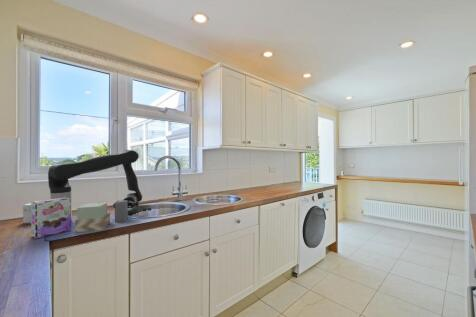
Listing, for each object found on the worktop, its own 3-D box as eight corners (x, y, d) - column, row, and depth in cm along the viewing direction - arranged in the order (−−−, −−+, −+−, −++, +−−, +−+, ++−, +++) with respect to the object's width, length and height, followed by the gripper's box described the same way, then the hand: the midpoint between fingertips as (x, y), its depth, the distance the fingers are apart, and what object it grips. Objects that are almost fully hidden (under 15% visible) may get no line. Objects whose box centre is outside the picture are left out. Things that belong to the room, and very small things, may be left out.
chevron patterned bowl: (75, 232, 108) (75, 220, 108) (85, 225, 120) (85, 214, 120) (102, 230, 111) (102, 218, 111) (110, 223, 123) (110, 212, 122)
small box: (45, 220, 128) (45, 202, 128) (35, 223, 123) (35, 204, 123) (33, 220, 129) (32, 202, 129) (22, 223, 124) (22, 204, 124)
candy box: (35, 239, 99) (34, 202, 99) (30, 236, 102) (30, 201, 102) (71, 230, 111) (70, 197, 110) (66, 228, 114) (65, 196, 114)
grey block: (114, 222, 124) (114, 202, 124) (117, 219, 130) (117, 200, 130) (125, 221, 126) (125, 202, 126) (127, 218, 131) (127, 200, 131)
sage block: (77, 219, 109) (77, 207, 109) (86, 214, 119) (86, 203, 119) (99, 218, 111) (99, 206, 111) (107, 213, 121) (106, 202, 121)
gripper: (118, 196, 147) (110, 201, 132) (140, 195, 151) (136, 199, 135) (118, 207, 147) (110, 213, 132) (141, 206, 151) (136, 212, 136)
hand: (123, 206), depth 134 cm, fingers open, 8 cm apart
